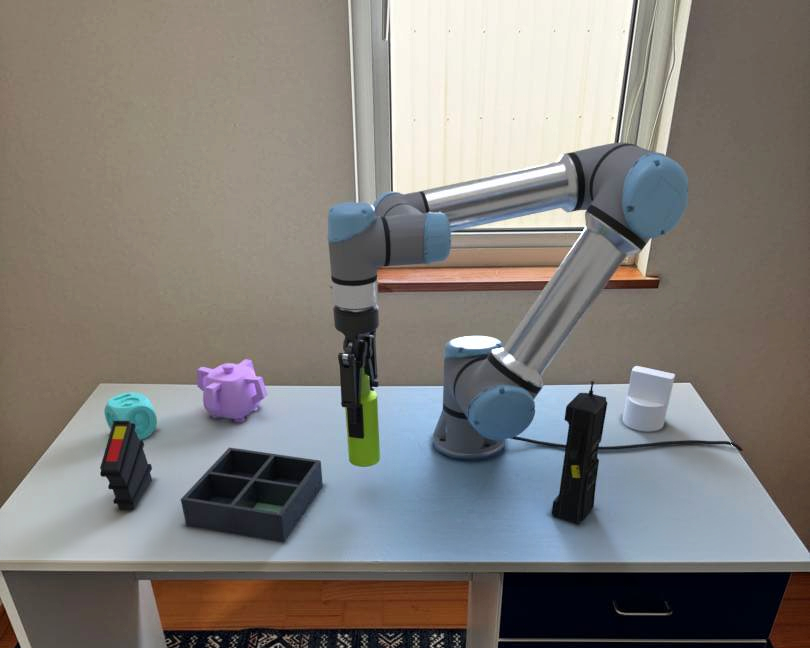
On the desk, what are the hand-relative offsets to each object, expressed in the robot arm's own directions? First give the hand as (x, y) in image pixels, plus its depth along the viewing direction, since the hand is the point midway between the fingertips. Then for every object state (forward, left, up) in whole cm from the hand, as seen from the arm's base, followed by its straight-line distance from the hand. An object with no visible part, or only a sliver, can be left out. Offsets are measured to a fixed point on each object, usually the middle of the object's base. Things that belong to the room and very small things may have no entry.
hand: (362, 428), depth 139 cm
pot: (+39, -24, -14) cm, 48 cm away
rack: (+18, +10, -14) cm, 25 cm away
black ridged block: (+42, +14, -14) cm, 47 cm away
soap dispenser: (0, 0, -7) cm, 7 cm away
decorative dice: (+56, -9, -14) cm, 59 cm away
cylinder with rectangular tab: (-52, -44, -14) cm, 69 cm away
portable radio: (-40, -3, -14) cm, 42 cm away
